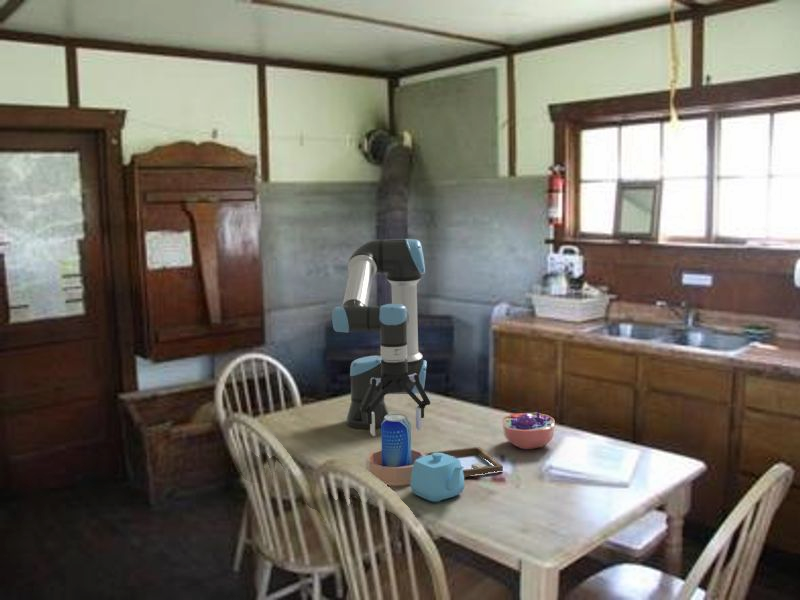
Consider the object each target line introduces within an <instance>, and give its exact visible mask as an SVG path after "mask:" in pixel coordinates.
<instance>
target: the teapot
mask: <svg viewBox="0 0 800 600" xmlns="http://www.w3.org/2000/svg"><path fill="white" fill-rule="evenodd" d="M464 468H465V467H464V466H462V463H461V459H459V458H457V457H452V456H450V455H447V454H444V453H433V454H432V455H428V456H425V455H423V456H420V457H419V458H418V459H417V460H415V461H414V465H413V469H412V473H411V485H410V489H411V491H412V494H415V495H417V496H419V497H420V498H423V499H424V500H427V501H429V502H433V503H440V502H441V501H442V500H447V499H450V498H455V497H456V496H458V495H460V494H461V493H463V491H464V489H465V485H466V484H465V478H464V474H463V470H464Z"/></svg>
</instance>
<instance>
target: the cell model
mask: <svg viewBox="0 0 800 600" xmlns="http://www.w3.org/2000/svg"><path fill="white" fill-rule="evenodd" d="M501 422H502V435H503V436H504V437H505V439H506V440H507V441H508V442H509V443H510V444H512V445H514V446H515V447H518V448H520V449H521V450H522V449H523V450H532V449H534V450H535V449H537V448H543V447H544V446H546V445H548V444H549V443H550V442H551V441H552V440H553V436H554V433H555V428H556V421H555V419H554V418H553V417H552V416H550V415H549V414H544V413H540V412H539V411H535V412H523V413H522V412H521V413H512V414H508V415H505V416H503V417H502V418H501Z"/></svg>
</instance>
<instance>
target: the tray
mask: <svg viewBox="0 0 800 600" xmlns="http://www.w3.org/2000/svg"><path fill="white" fill-rule="evenodd" d="M423 453H424V454H425V455H426V456H428V455H432V454H433V453H444V454H447V455H450V456H459V457H466V456H475V455H478V456H479V457H480V458H481V457H482V458H484V459H486V460H488V461H489V462H490V463H492V464H493V465H494V466H491V465H489V466H487V467H482V468H474V469H472V468H467V469H462V470H463V474H464V479H465V478H466V477H468V476H470V475H475V474H482V473H483V474H485V473H488V472H494V471H495V472H497V471H503V472H504V466H503V465H502V464H501V463H499V462H498V461H497V460H496V459H494V458H493V456H491V455H490V454H489V453H487V452H486V450H484V449H483V448H481V446H473V447H467V448H466V447H464V448H458V449H457V448H455V449H447V450H439V451H431V452H423ZM482 458H481V459H482ZM484 459H483V460H484ZM468 478H469V477H468ZM466 479H467V478H466Z"/></svg>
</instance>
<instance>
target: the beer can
mask: <svg viewBox="0 0 800 600" xmlns="http://www.w3.org/2000/svg"><path fill="white" fill-rule="evenodd" d="M380 428H381V429H380V430H381V431H380V434H381V449H382V466H386V467H403V466H411V449H412V431H411V429H412V426H411V422H410V420H409V418H408V416H407V414H404V413H398V412H397V413H395V412H394V413H389V414H388V415H386V416H385V417H384V421H383V422H382V424H381V427H380Z"/></svg>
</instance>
